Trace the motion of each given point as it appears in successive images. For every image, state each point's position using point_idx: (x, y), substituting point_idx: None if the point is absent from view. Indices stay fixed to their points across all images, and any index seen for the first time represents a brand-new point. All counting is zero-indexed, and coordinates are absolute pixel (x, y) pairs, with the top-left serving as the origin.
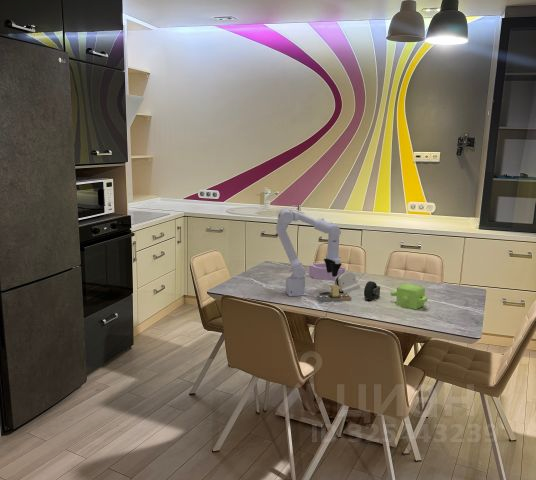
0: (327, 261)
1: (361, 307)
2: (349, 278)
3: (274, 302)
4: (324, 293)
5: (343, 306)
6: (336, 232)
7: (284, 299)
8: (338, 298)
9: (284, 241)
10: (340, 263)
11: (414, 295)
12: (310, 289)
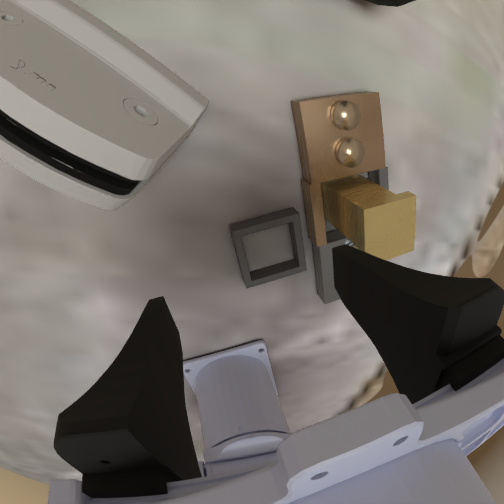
0: (188, 460)
1: (457, 79)
2: (32, 49)
3: (341, 412)
4: (244, 254)
5: (441, 166)
6: None
7: (313, 399)
8: (387, 183)
9: None
10: (485, 305)
11: None
12: (134, 326)
